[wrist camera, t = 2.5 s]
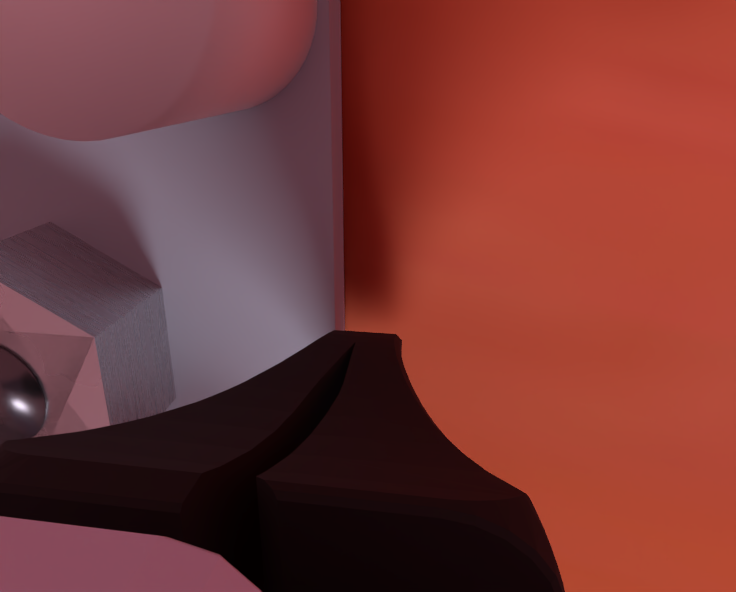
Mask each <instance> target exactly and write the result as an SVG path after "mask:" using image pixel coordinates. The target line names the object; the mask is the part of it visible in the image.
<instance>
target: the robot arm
mask: <svg viewBox="0 0 736 592" xmlns="http://www.w3.org/2000/svg"><path fill="white" fill-rule="evenodd" d="M401 349H402V340H401V339H400V338H399V337H398V336H397V335H396V334H384V333H370V332H355V331H340V330H334V331H331V332H329V333H327V334H326V335H324V336H322V337H321V338H319V339H317V340H316V341H314V342H313V343H311V344H309V345H308V346H306V347H305V348H303V349H301V350H300V351H298V352H297V353H295V354H293V355H292V356H290V357H288V358H287V359H285V360H284V361H282V362H280V363H278V364H277V365H275V366H273V367H271V368H269V369H267V370H265V371H264V372H262V373H260V374H258V375H256V376H254V377H252V378H251V379H249V380H247V381H245V382H243V383H241V384H239V385H237V386H234V387H232V388H230V389H228V390H225V391H223V392H220V393H218V394H215V395H213V396H210V397H208V398H206V399H203V400H200V401H197V402H195V403H192V404H188V405H185V406H182V407H179V408H175V409H172V410H169V411H166V412H162V413H159V414H156V415H153V416H149V417H145V418H141V419H137V420H133V421H129V422H125V423H120V424H115V425H110V426H105V427H100V428H95V429H90V430H84V431H78V432H71V433H64V434H56V435H48V436H41V437H33V438H26V439H16V440H7V441H5V442H4V443H3V444H1V445H0V592H565V591H564V586H563V582H562V579H561V575H560V572H559V569H558V566H557V563H556V560H555V557H554V554H553V551H552V548H551V546H550V543H549V540H548V538H547V535H546V533H545V530H544V528H543V526H542V523H541V521H540V519H539V517H538V515H537V512H536V510H535V508H534V506H533V504H532V502H531V500H530V498H529V497H528V495H527V494H526V493H524V492H522V491H520V490H519V489H517V488H515V487H513V486H512V485H510V484H508V483H506V482H505V481H503V480H501V479H499V478H498V477H496V476H494V475H492V474H490V473H489V472H487V471H486V470H484V469H483V468H482V467H480V466H479V465H478V464H476V463H475V462H474V461H472V460H471V459H470V458H468V457H467V456H466V455H464V454H463V453H462V452H461V451H460V450H459V449H458V448H457V447H456V446H455V445H453V444H452V443H451V442H450V441H449V440H448V439H447V438H446V437H445V435H444V434H443V433H442V432H441V431H440V430H439V428H438V427H437V426H436V425H435V423H434V422H433V420H432V419H431V418H430V416H429V415H428V414H427V412H426V410H425V409H424V407H423V406H422V404H421V402H420V401H419V399H418V397H417V395H416V393H415V391H414V389H413V387H412V385H411V383H410V381H409V378H408V375H407V373H406V370H405V368H404V365H403V361H402V357H401Z"/></svg>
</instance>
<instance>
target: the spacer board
mask: <svg viewBox="0 0 736 592" xmlns="http://www.w3.org/2000/svg"><path fill="white" fill-rule="evenodd" d="M50 221H51V222H52V223H54V224H56V225H57V226H59V227H61V228H62V229H64V230H66V231H67V232H69V233H71V234H72V235H74V236H76V237H78V238H79V239H81V240H83V241H84V242H86V243H88V244H89V245H91V246H93V247H94V248H96V249H98V250H99V251H101V252H103V253H105V254H106V255H108V256H110V257H111V258H113V259H115V260H116V261H118V262H120V263H121V264H123V265H125V266H126V267H128V268H130V269H132V270H133V271H135V272H137V273H138V274H140V275H142V276H143V277H145V278H147V279H148V280H150V281H152V282H154V283H155V284H157V285H159V286H160V287H162V291H163V298H164V306H165V314H166V322H167V330H168V337H169V345H170V353H171V361H172V369H173V377H174V384H175V392H176V399H175V400H174V401H173V402H172V403H171V404H170V406H169V407H168V408H167V409H166V410H165V411H164V412H166V411H169V410H172V409H175V408H179V407H182V406H185V405H188V404H192V403H195V402H197V401H200V400H203V399H206V398H208V397H210V396H213V395H215V394H218V393H220V392H223V391H225V390H228V389H230V388H232V387H234V386H237V385H239V384H241V383H243V382H245V381H247V380H249V379H251V378H252V377H254V376H256V375H258V374H260V373H262V372H264V371H265V370H267V369H269V368H271V367H273V366H275V365H277V364H278V363H280V362H282V361H284V360H285V359H287V358H288V357H290V356H292V355H293V354H295V353H297V352H298V351H300V350H301V349H303V348H305V347H306V346H308V345H309V344H311V343H313V342H314V341H316V340H317V339H319V338H321V337H322V336H324V335H326V334H327V333H329V332H331V331H334V330H340V331H345V306H344V230H343V154H342V79H341V3H340V0H0V241H1V240H3V239H6V238H9V237H11V236H14V235H16V234H19V233H22V232H24V231H27V230H30V229H32V228H35V227H37V226H40V225H43V224H45V223H48V222H50Z"/></svg>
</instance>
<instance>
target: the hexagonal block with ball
mask: <svg viewBox="0 0 736 592" xmlns="http://www.w3.org/2000/svg"><path fill="white" fill-rule="evenodd" d="M175 399H176V392H175V384H174V377H173V369H172V361H171V353H170V345H169V337H168V330H167V322H166V314H165V306H164V298H163V291H162V287H160V286H159V285H157V284H155V283H154V282H152V281H150V280H148V279H147V278H145V277H143V276H142V275H140V274H138V273H137V272H135V271H133V270H132V269H130V268H128V267H126V266H125V265H123V264H121V263H120V262H118V261H116V260H115V259H113V258H111V257H110V256H108V255H106V254H105V253H103V252H101V251H99V250H98V249H96V248H94V247H93V246H91V245H89V244H88V243H86V242H84V241H83V240H81V239H79V238H78V237H76V236H74V235H72V234H71V233H69V232H67V231H66V230H64V229H62V228H61V227H59V226H57V225H56V224H54V223H52V222H51V221H50V222H48V223H45V224H43V225H40V226H37V227H35V228H32V229H30V230H27V231H24V232H22V233H19V234H16V235H14V236H11V237H9V238H6V239H3V240H1V241H0V445H1V444H3V443H4V442H5V441H7V440H16V439H26V438H33V437H41V436H48V435H56V434H64V433H71V432H78V431H84V430H90V429H95V428H100V427H105V426H110V425H115V424H120V423H125V422H129V421H133V420H137V419H141V418H145V417H149V416H153V415H156V414H159V413H162V412H164V411H165V410H166V409H167V408H168V407H169V406H170V404H171V403H172V402H173V401H174V400H175Z"/></svg>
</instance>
